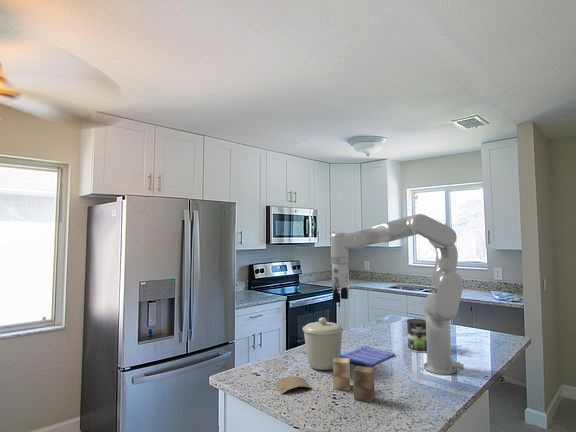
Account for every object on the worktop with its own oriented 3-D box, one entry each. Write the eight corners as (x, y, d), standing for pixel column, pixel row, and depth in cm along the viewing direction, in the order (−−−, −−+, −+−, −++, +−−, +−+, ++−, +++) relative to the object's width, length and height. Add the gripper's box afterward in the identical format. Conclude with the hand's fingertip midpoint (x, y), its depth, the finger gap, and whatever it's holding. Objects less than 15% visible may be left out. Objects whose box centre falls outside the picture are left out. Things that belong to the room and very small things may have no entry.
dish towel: (335, 360, 167) (335, 354, 167) (364, 349, 183) (364, 343, 184) (367, 370, 155) (367, 363, 155) (395, 356, 171) (395, 350, 171)
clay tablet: (305, 380, 144) (305, 373, 144) (316, 390, 135) (315, 383, 135) (270, 386, 139) (270, 379, 139) (279, 397, 130) (279, 389, 130)
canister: (294, 366, 158) (293, 317, 159) (321, 356, 171) (320, 311, 172) (326, 377, 145) (325, 324, 147) (352, 366, 158) (351, 317, 159)
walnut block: (374, 397, 127) (373, 368, 128) (371, 403, 123) (370, 372, 123) (357, 394, 130) (357, 365, 130) (354, 399, 125) (353, 370, 126)
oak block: (350, 385, 138) (349, 358, 138) (349, 390, 133) (349, 362, 133) (334, 384, 139) (333, 357, 139) (333, 389, 134) (332, 362, 135)
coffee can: (431, 353, 173) (430, 323, 174) (408, 352, 176) (407, 322, 177) (428, 347, 183) (427, 318, 184) (406, 345, 186) (405, 318, 187)
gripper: (341, 262, 148) (342, 304, 147) (354, 259, 164) (355, 298, 162) (324, 262, 152) (324, 303, 151) (338, 259, 167) (339, 297, 166)
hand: (340, 300), depth 157 cm, fingers open, 9 cm apart
